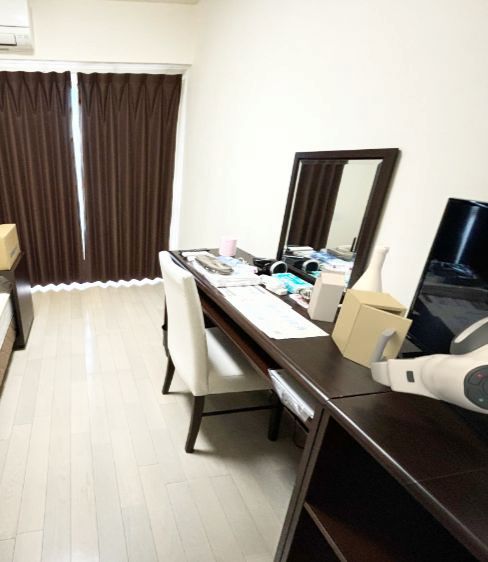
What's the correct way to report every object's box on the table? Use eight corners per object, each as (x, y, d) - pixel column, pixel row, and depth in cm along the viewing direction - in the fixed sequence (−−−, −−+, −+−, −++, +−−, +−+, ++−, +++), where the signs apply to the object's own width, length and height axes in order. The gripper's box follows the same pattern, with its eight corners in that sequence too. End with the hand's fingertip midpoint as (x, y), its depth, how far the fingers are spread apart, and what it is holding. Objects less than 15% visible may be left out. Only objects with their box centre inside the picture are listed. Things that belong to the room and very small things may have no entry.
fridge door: (380, 383, 82) (404, 327, 76) (335, 362, 91) (353, 309, 84) (388, 375, 86) (412, 320, 79) (344, 355, 94) (362, 304, 87)
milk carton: (332, 323, 113) (348, 275, 106) (311, 319, 115) (325, 272, 108) (327, 314, 119) (341, 268, 112) (306, 311, 121) (319, 266, 114)
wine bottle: (354, 317, 117) (381, 241, 106) (377, 330, 109) (410, 249, 97) (333, 318, 116) (358, 242, 104) (355, 332, 107) (385, 250, 96)
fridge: (384, 362, 91) (407, 309, 85) (342, 354, 95) (361, 303, 88) (369, 342, 101) (388, 293, 94) (331, 336, 104) (347, 288, 97)
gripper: (526, 363, 54) (482, 359, 66) (378, 358, 64) (363, 356, 76) (535, 401, 53) (488, 390, 65) (383, 390, 62) (367, 382, 74)
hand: (420, 371), depth 70 cm, fingers open, 8 cm apart
